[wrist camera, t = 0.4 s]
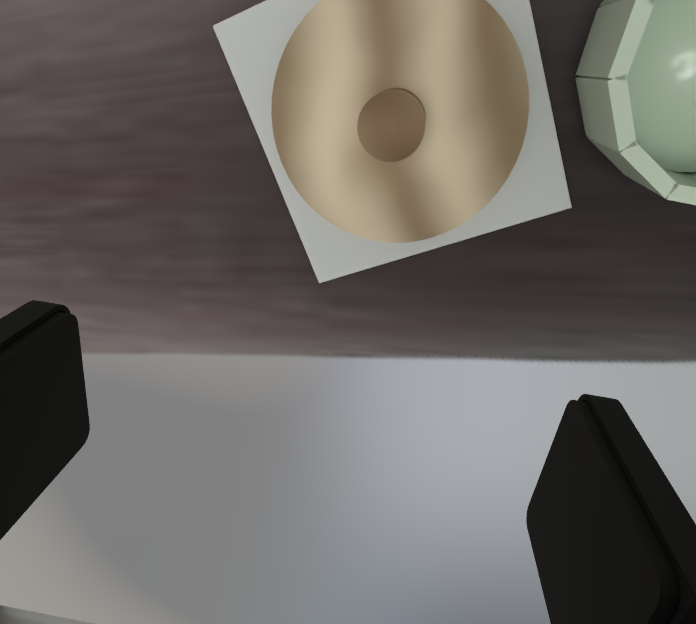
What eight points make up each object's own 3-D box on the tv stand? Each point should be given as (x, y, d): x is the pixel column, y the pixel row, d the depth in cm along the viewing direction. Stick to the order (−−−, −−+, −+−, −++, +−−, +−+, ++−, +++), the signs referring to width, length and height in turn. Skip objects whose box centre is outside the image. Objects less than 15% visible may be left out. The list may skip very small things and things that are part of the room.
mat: (504, -112, 26) (505, -115, 26) (569, 206, 32) (571, 207, 32) (215, 26, 31) (212, 25, 30) (320, 280, 37) (319, 283, 36)
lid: (490, -82, 26) (502, -111, 22) (551, 197, 32) (570, 218, 27) (234, 37, 30) (202, 32, 26) (327, 266, 36) (312, 293, 32)
